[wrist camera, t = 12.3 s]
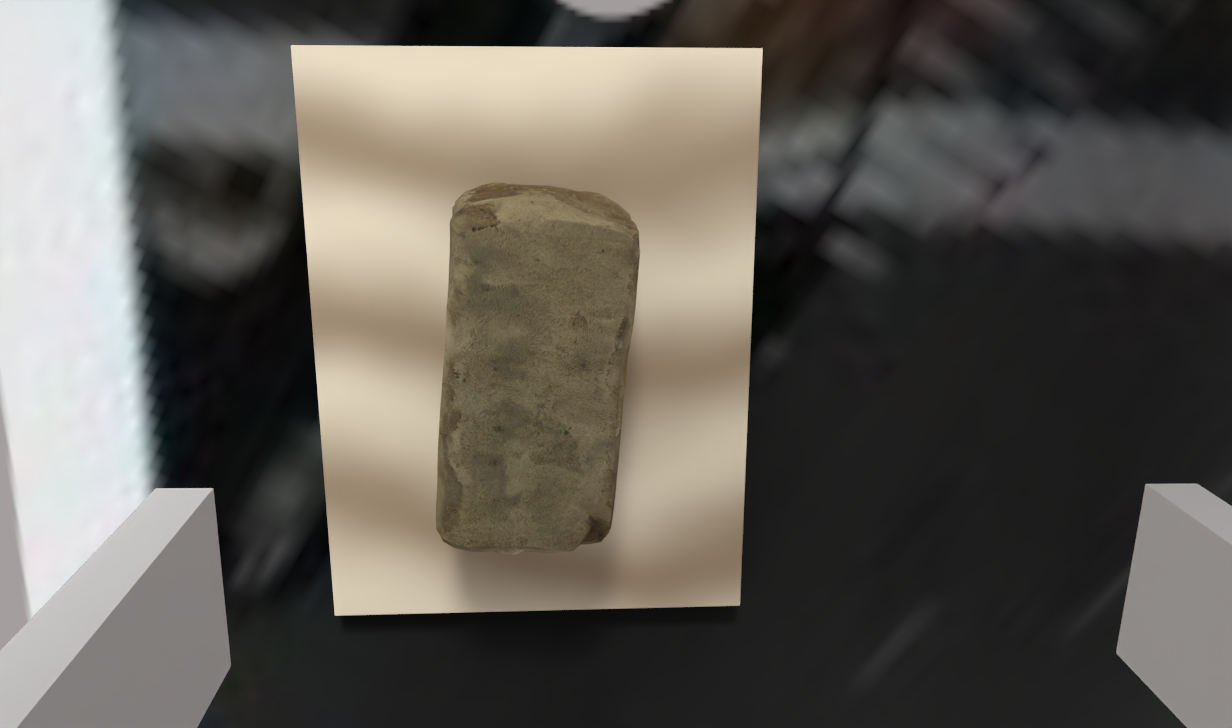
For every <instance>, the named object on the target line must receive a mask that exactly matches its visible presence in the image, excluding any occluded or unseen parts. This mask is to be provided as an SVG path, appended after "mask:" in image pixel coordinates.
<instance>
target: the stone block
mask: <svg viewBox="0 0 1232 728" xmlns="http://www.w3.org/2000/svg"><path fill="white" fill-rule="evenodd" d="M639 259H640V247H639V231H638V229H637V226H636V224H635V222H633V221H631V217H630V214H629V213H628V212H627V211H625V210H624V209H623V208H622V207H621V206H620V205H619V204H617V203H615V202H614V201H612V200H610V199H609V198H607V197H605V196H603V195H601V194H600V193H596V192H587V191H574V190H571V189H567V188H561V187H557V186H547V185H520V184H505V183H497V182H493V183H489V184H485V185H481V186H479V187H476V188H474V189H472V190H468V191H466V192H464V193H463V194H462V195H461V196H460V197H459V198H458V199H457V200H456V201H455V205H454V206H453V207H452V218H451V220H450V256H449V282H448V299H447V309H446V338H445V354H444V364H443V377H442V392H441V404H440V420H439V438H438V461H437V498H436V529H437V531H438V533H439V534H440V536H441V538H442V540H443V542H445V543H447V544H448V545H450V546H451V547H453V548H455V549H460V550H465V551H472V552H489V551H492V552H498V553H504V554H512V555H514V554H519V553H524V552H539V553H556V552H570V551H574V550H575V549H576V548H577V547H578V546H579V545H583V544H593V543H599V542H601V541H602V540H603V539H604V538H605V537H606V536H607V535H608V533H609V531H610V529H611V525H612V518H613V511H614V503H615V494H616V482H617V471H618V462H619V451H620V439H621V427H622V415H623V401H624V392H625V383H626V371H627V359H628V354H629V348H630V343H631V337H632V331H633V324H634V316H635V307H636V295H637V282H638V271H639Z"/></svg>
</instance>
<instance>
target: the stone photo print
mask: <svg viewBox="0 0 1232 728" xmlns="http://www.w3.org/2000/svg"><path fill="white" fill-rule="evenodd" d="M762 53H763V48H634V47H478V46H323V45H291V54H292V67H293V80H294V93H295V106H296V119H297V132H298V145H299V158H300V171H301V183H302V196H303V209H304V222H305V235H306V248H307V261H308V274H309V287H310V300H311V313H312V326H313V339H314V352H315V365H316V378H317V391H318V404H319V417H320V430H321V443H322V456H323V469H324V482H325V495H326V508H327V521H328V533H329V546H330V559H331V572H332V585H333V598H334V611H335V616H341V615H381V614H422V613H462V612H503V611H543V610H584V609H624V608H664V607H705V606H740V590H741V566H742V542H743V517H744V493H745V468H746V444H747V419H748V395H749V370H750V346H751V322H752V297H753V273H754V248H755V224H756V199H757V175H758V151H759V126H760V102H761V77H762ZM493 182H497V183H505V184H520V185H547V186H557V187H561V188H567V189H571V190H574V191H587V192H596V193H600V194H601V195H603V196H605V197H607V198H609V199H610V200H612V201H614V202H615V203H617V204H619V205H620V206H621V207H622V208H623V209H624V210H625V211H627V212H628V213H629V214H630V217H631V221H633V222H635V224H636V226H637V229H638V231H639V247H640V259H639V271H638V282H637V295H636V307H635V316H634V324H633V331H632V337H631V343H630V348H629V354H628V359H627V371H626V383H625V392H624V401H623V415H622V427H621V439H620V451H619V462H618V471H617V482H616V494H615V503H614V511H613V518H612V525H611V529H610V531H609V533H608V535H607V536H606V537H605V538H604V539H603V540H602V541H601V542H599V543H593V544H583V545H579V546H578V547H577V548H576V549H575V550H574V551H570V552H556V553H539V552H524V553H519V554H514V555H512V554H504V553H498V552H492V551H489V552H472V551H465V550H460V549H455V548H453V547H451V546H450V545H448V544H447V543H445V542H443V540H442V538H441V536H440V534H439V533H438V531H437V529H436V498H437V461H438V438H439V420H440V404H441V392H442V377H443V364H444V354H445V338H446V309H447V299H448V282H449V256H450V220H451V218H452V207H453V206H454V205H455V201H456V200H457V199H458V198H459V197H460V196H461V195H462V194H463V193H464V192H466V191H468V190H472V189H474V188H476V187H479V186H481V185H485V184H489V183H493Z"/></svg>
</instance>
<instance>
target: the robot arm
mask: <svg viewBox="0 0 1232 728" xmlns="http://www.w3.org/2000/svg"><path fill="white" fill-rule="evenodd" d="M1116 654H1117V655H1118V656H1119V657H1120V658H1121V659H1122V660H1123V661H1124V662H1125V663H1126V664H1127V665H1128V666H1129V667H1130V668H1131V669H1132V670H1133V671H1134V672H1135V673H1136V675H1137V676H1138V677H1139V678H1140V679H1141V680H1142V681H1143V682H1144V683H1145V684H1146V685H1147V686H1148V687H1149V688H1150V689H1151V690H1152V691H1153V692H1154V693H1155V695H1156V696H1157V697H1158V698H1159V699H1160V700H1161V701H1162V702H1163V703H1164V704H1165V705H1166V706H1167V707H1168V708H1169V709H1170V710H1171V711H1172V712H1173V713H1174V714H1175V716H1176V717H1177V718H1178V719H1179V720H1180V721H1181V722H1182V723H1183V724H1184V725H1185V726H1186V727H1187V728H1232V506H1231V505H1229V504H1228V503H1226V502H1224V501H1223V500H1221V499H1220V498H1218V497H1217V496H1215V495H1214V494H1212V493H1211V492H1209V491H1208V490H1206V489H1205V488H1203V487H1201V486H1200V485H1198V484H1145V490H1144V495H1143V501H1142V507H1141V513H1140V518H1139V524H1138V530H1137V535H1136V541H1135V547H1134V553H1133V558H1132V564H1131V570H1130V575H1129V581H1128V587H1127V593H1126V598H1125V604H1124V610H1123V616H1122V621H1121V627H1120V633H1119V638H1118V644H1117V650H1116ZM230 667H231V661H230V651H229V641H228V631H227V621H226V611H225V601H224V591H223V581H222V570H221V560H220V550H219V540H218V530H217V520H216V510H215V500H214V490H213V488H156V489H155V490H154V491H153V492H152V493H151V494H150V495H149V496H148V497H147V498H146V499H145V500H144V501H143V502H142V503H141V505H140V506H139V507H138V508H137V509H136V510H135V511H134V512H133V513H132V514H131V515H130V516H129V517H128V518H127V519H126V520H125V521H124V522H123V523H122V524H121V525H120V526H119V528H118V529H117V530H116V531H115V532H114V533H113V534H112V535H111V536H110V537H109V538H108V539H107V540H106V541H105V542H104V543H103V544H102V545H101V546H100V547H99V548H98V549H97V550H96V552H95V553H94V554H93V555H92V556H91V557H90V558H89V559H88V560H87V561H86V562H85V563H84V564H83V565H82V566H81V567H80V568H79V569H78V570H77V571H76V572H75V573H74V575H73V576H72V577H71V578H70V579H69V580H68V581H67V582H66V583H65V584H64V585H63V586H62V587H61V588H60V589H59V590H58V591H57V592H56V593H55V594H54V595H53V596H52V598H51V599H50V600H49V601H48V602H47V603H46V604H45V605H44V606H43V607H42V608H41V609H40V610H39V611H38V612H37V613H36V614H35V615H34V616H33V617H32V618H31V619H30V620H29V622H28V623H27V624H26V625H25V626H24V627H23V628H22V629H21V630H20V631H19V632H18V633H17V634H16V635H15V636H14V637H13V638H12V639H11V640H10V641H9V642H8V643H7V645H6V646H5V647H4V648H3V649H2V650H1V651H0V728H197V727H198V725H199V723H200V721H201V719H202V718H203V716H204V714H205V712H206V710H207V708H208V707H209V705H210V703H211V701H212V699H213V698H214V696H215V694H216V692H217V690H218V688H219V687H220V685H221V683H222V681H223V679H224V677H225V676H226V674H227V672H228V670H229V668H230Z"/></svg>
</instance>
